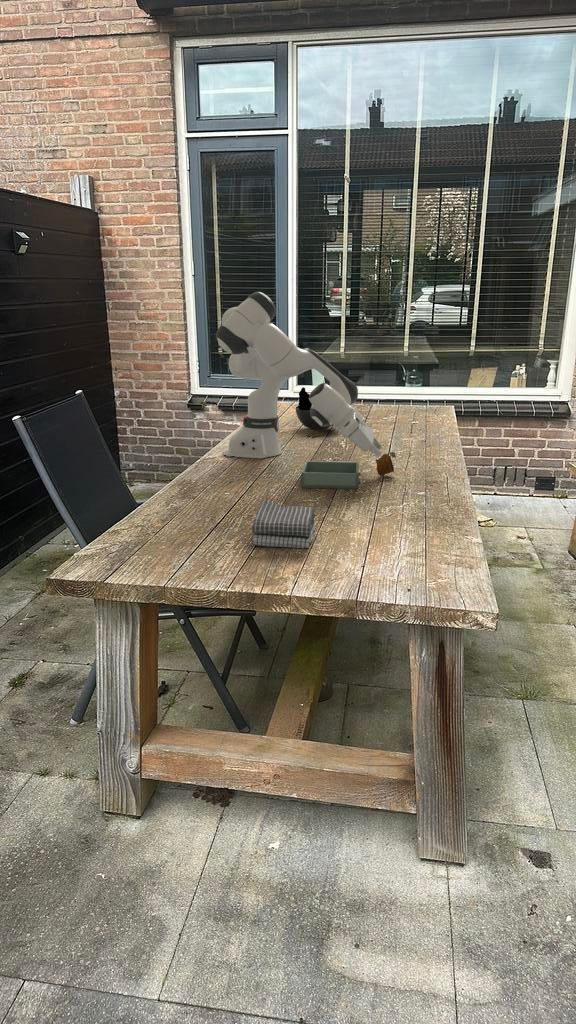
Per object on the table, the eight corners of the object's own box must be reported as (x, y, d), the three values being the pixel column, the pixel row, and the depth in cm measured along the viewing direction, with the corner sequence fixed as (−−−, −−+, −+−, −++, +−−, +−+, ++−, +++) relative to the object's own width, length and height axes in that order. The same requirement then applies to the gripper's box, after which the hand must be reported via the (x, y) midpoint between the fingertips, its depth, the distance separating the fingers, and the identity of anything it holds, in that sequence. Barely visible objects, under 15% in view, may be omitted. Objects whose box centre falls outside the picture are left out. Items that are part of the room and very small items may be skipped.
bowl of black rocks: (348, 428, 308) (349, 386, 302) (326, 436, 292) (327, 392, 286) (310, 423, 318) (310, 382, 312) (287, 431, 302) (286, 388, 296)
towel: (250, 549, 170) (250, 520, 168) (260, 525, 187) (259, 497, 185) (312, 551, 169) (312, 521, 166) (315, 526, 186) (316, 498, 184)
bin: (301, 487, 220) (301, 472, 218) (305, 475, 234) (305, 461, 232) (357, 489, 218) (358, 473, 216) (358, 476, 232) (359, 462, 230)
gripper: (345, 423, 237) (374, 450, 239) (342, 436, 218) (373, 466, 220) (358, 410, 235) (387, 438, 237) (356, 422, 216) (387, 452, 218)
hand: (380, 451), depth 228 cm, fingers open, 8 cm apart
